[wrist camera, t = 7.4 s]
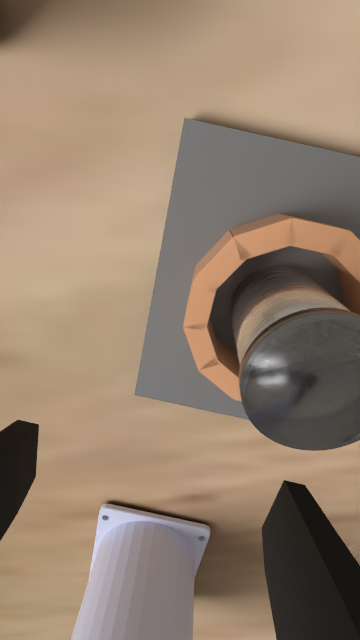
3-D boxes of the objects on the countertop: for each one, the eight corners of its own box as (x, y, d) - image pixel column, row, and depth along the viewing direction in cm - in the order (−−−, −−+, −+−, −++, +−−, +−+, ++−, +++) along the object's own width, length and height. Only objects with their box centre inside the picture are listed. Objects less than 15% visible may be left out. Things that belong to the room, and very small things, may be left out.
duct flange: (332, 429, 19) (355, 474, 16) (137, 387, 19) (124, 423, 16) (453, 181, 14) (521, 179, 11) (185, 121, 14) (180, 102, 11)
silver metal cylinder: (310, 355, 17) (376, 458, 10) (220, 345, 17) (230, 440, 11) (335, 267, 15) (431, 324, 9) (234, 257, 15) (255, 306, 9)
